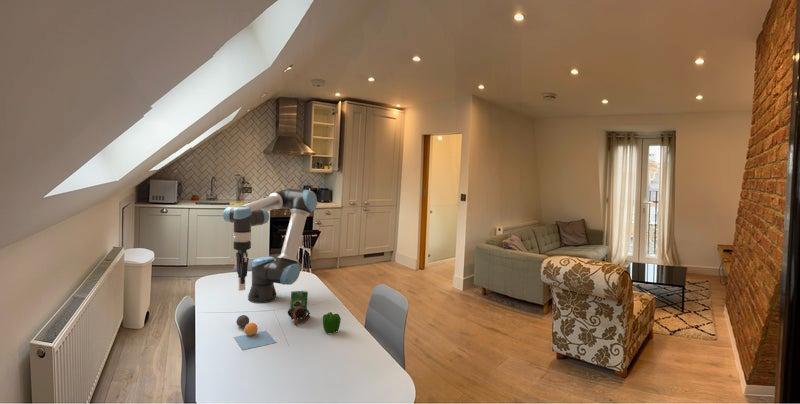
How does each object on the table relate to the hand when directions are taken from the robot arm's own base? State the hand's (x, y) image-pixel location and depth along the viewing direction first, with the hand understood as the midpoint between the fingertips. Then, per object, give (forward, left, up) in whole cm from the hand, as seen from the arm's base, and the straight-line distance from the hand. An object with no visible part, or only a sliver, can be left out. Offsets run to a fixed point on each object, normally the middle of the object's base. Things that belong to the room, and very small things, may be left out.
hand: (241, 289), depth 188 cm
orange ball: (0, +16, -13) cm, 21 cm away
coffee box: (-26, +6, -16) cm, 31 cm away
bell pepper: (-32, +30, -16) cm, 47 cm away
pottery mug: (-24, +12, -16) cm, 31 cm away
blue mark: (0, +22, -16) cm, 27 cm away
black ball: (+1, +6, -13) cm, 14 cm away
